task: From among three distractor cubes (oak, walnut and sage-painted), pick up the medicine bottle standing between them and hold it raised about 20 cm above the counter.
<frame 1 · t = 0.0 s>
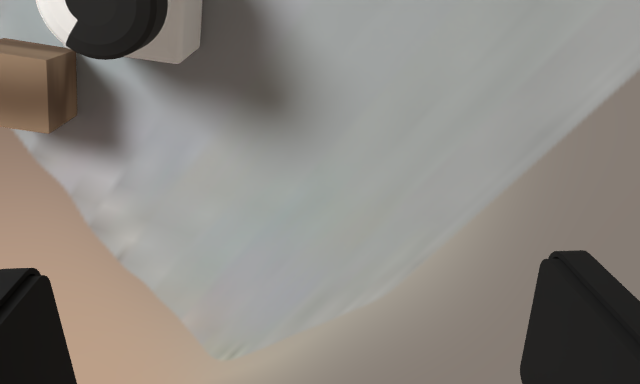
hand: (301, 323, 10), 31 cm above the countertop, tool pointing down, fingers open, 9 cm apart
walnut cube: (42, 77, 38), on the countertop
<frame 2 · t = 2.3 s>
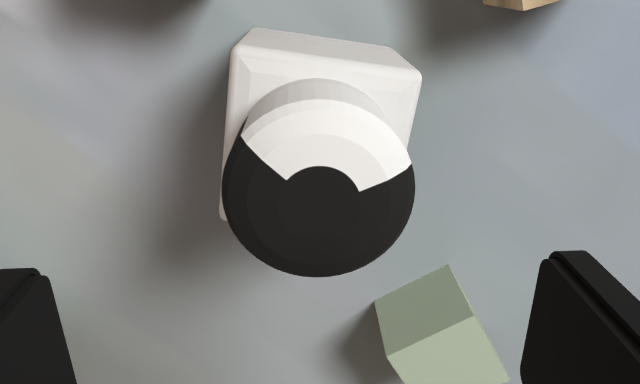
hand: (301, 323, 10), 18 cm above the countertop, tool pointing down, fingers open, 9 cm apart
sage cube: (428, 311, 31), on the countertop
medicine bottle: (312, 106, 26), on the countertop
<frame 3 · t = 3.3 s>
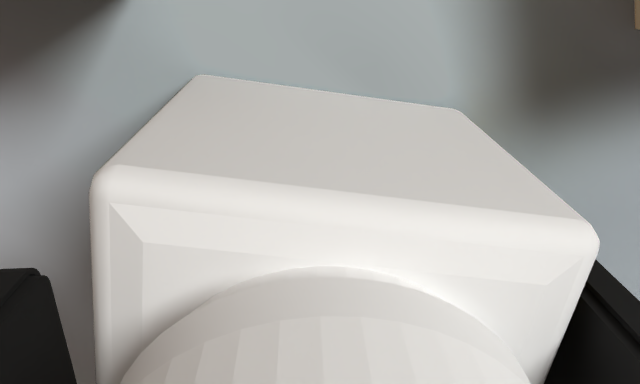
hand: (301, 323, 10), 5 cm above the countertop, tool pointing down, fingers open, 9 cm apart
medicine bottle: (311, 209, 15), on the countertop
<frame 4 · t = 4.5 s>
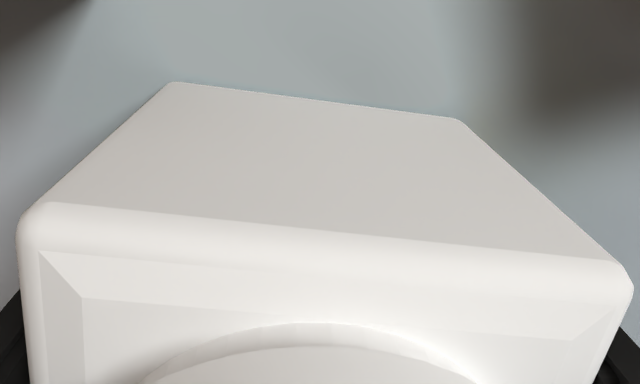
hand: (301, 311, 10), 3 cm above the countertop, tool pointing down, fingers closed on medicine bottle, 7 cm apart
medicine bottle: (299, 226, 13), on the countertop, touching gripper
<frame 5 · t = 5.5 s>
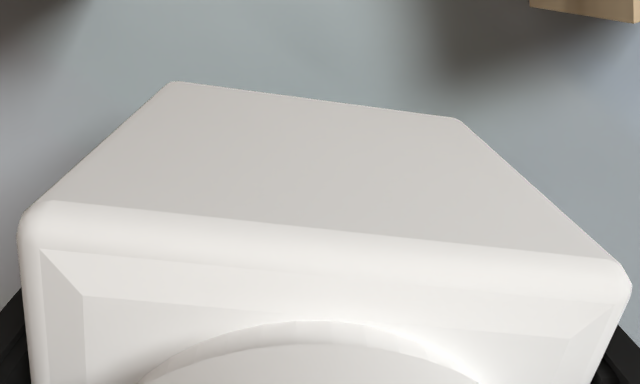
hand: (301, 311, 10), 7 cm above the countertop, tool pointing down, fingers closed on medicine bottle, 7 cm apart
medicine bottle: (299, 225, 14), point 4 cm above the countertop, touching gripper
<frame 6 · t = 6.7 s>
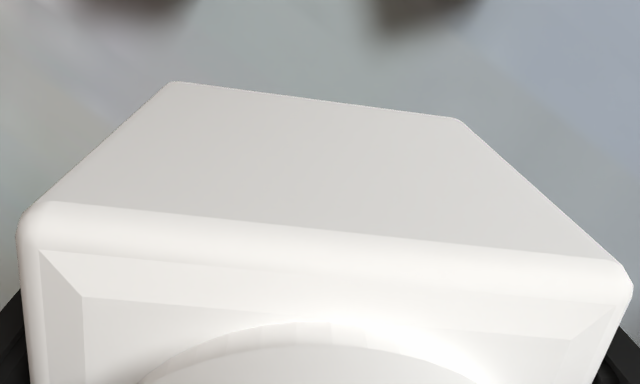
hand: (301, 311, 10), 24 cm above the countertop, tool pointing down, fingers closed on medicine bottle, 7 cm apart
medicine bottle: (299, 226, 13), point 20 cm above the countertop, touching gripper
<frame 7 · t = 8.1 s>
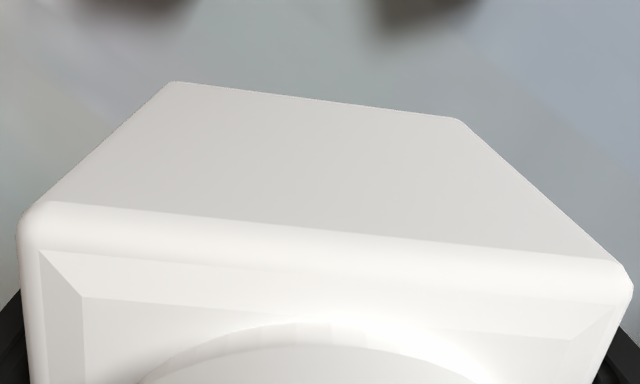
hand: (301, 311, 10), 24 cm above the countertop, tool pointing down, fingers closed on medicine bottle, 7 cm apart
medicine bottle: (299, 226, 13), point 20 cm above the countertop, touching gripper
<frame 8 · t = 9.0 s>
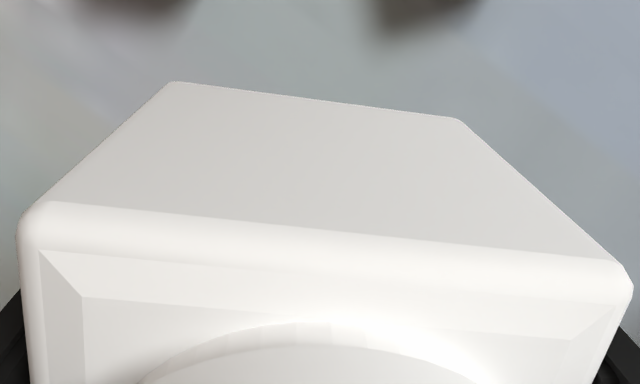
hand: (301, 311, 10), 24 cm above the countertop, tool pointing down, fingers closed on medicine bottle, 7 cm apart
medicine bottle: (299, 226, 13), point 20 cm above the countertop, touching gripper
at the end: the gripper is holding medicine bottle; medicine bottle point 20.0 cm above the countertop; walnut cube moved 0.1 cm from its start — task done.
